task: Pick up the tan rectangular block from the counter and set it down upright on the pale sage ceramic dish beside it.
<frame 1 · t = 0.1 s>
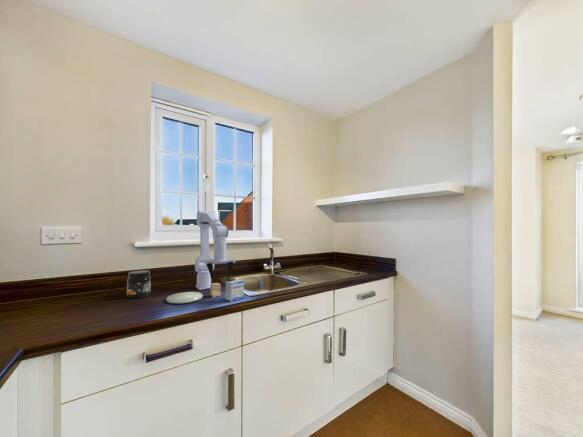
hand: (219, 278, 119), 10 cm above the worktop, tool pointing down, fingers open, 7 cm apart
supplement container: (138, 295, 125), on the worktop
sage dish: (185, 299, 118), on the worktop
medicine box: (234, 299, 119), on the worktop
tan rectangular block: (215, 295, 125), on the worktop
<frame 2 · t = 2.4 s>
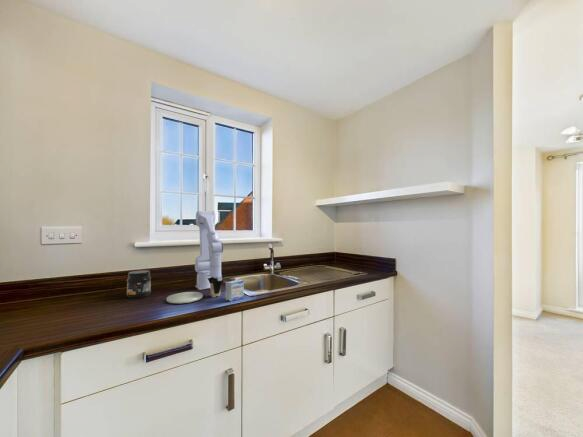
hand: (215, 292, 125), 2 cm above the worktop, tool pointing down, fingers closed on tan rectangular block, 4 cm apart
tan rectangular block: (215, 295, 125), on the worktop, touching gripper
everything else where it was.
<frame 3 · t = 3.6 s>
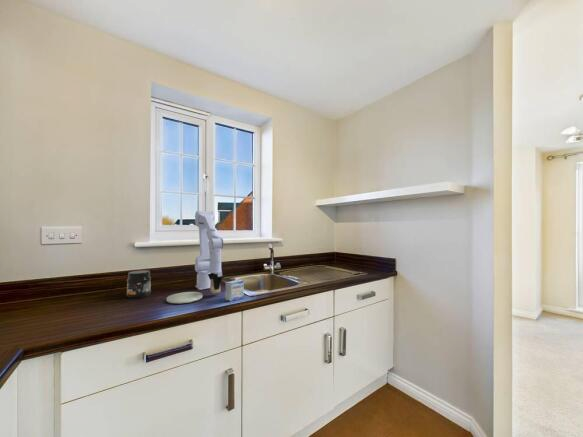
hand: (215, 288, 125), 4 cm above the worktop, tool pointing down, fingers closed on tan rectangular block, 4 cm apart
tan rectangular block: (215, 291, 125), point 2 cm above the worktop, touching gripper
everything else where it was.
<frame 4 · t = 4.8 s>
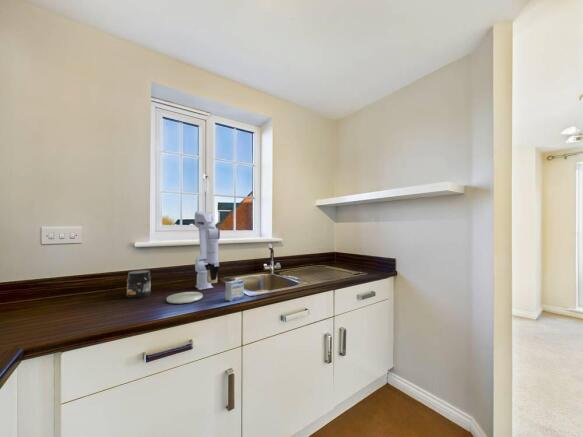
hand: (212, 279, 124), 9 cm above the worktop, tool pointing down, fingers closed on tan rectangular block, 4 cm apart
tan rectangular block: (212, 282, 124), point 7 cm above the worktop, touching gripper
everything else where it was.
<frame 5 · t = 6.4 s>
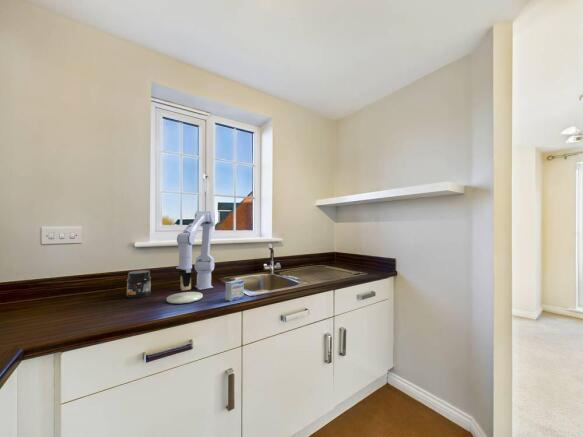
hand: (185, 285, 119), 7 cm above the worktop, tool pointing down, fingers closed on tan rectangular block, 4 cm apart
tan rectangular block: (185, 289, 119), point 5 cm above the worktop, touching gripper
everything else where it was.
when the fingers open (5 cm above the worktop, at t = 7.6 s): tan rectangular block drops 1 cm, resting on sage dish.
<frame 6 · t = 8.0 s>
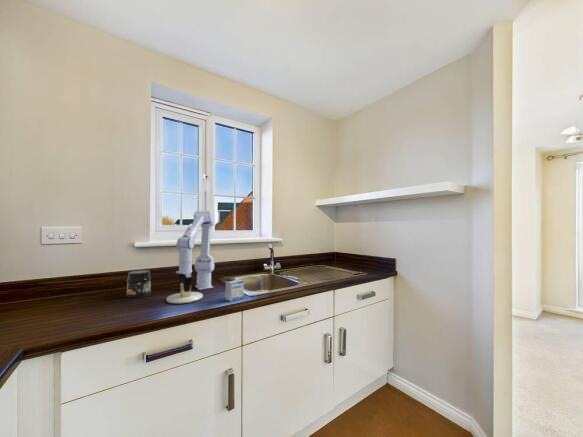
hand: (185, 289, 119), 5 cm above the worktop, tool pointing down, fingers open, 7 cm apart
tan rectangular block: (185, 296, 119), point 1 cm above the worktop, touching sage dish
everything else where it was.
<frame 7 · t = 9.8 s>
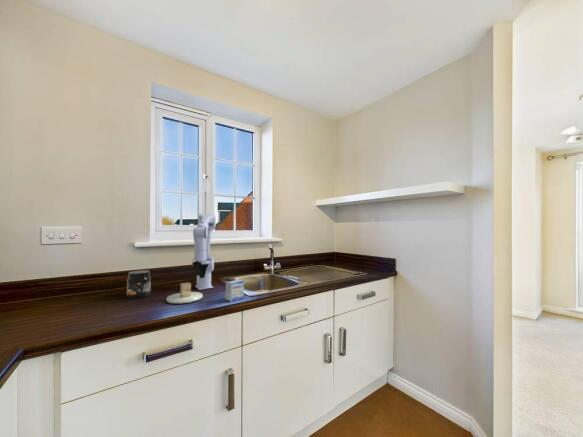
hand: (200, 276, 126), 9 cm above the worktop, tool pointing down, fingers open, 7 cm apart
nothing on the worktop moved.
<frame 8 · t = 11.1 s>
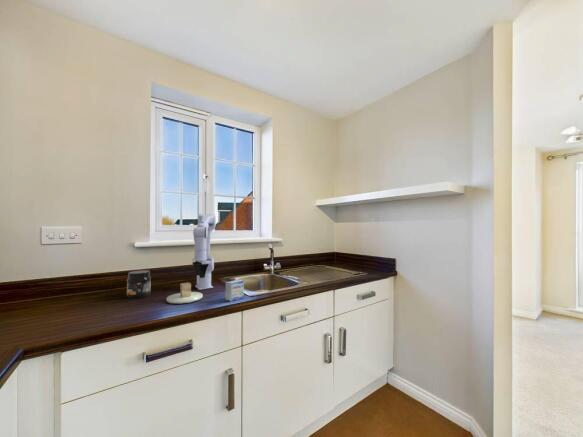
hand: (200, 276, 126), 9 cm above the worktop, tool pointing down, fingers open, 7 cm apart
nothing on the worktop moved.
at the end: tan rectangular block inside the target area on the sage dish (0.2 cm from its centre), point 1.5 cm above the sage dish's base; tan rectangular block tilted 0°; the gripper is holding nothing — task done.
